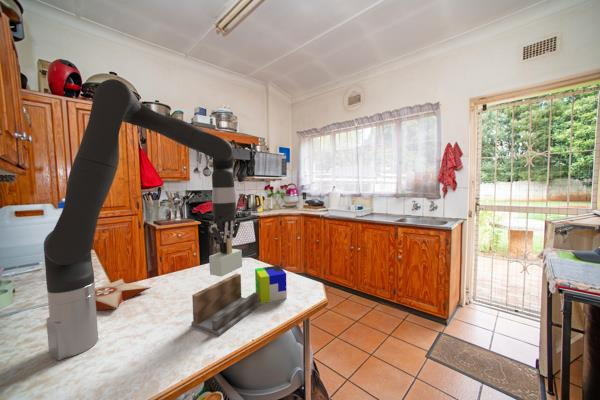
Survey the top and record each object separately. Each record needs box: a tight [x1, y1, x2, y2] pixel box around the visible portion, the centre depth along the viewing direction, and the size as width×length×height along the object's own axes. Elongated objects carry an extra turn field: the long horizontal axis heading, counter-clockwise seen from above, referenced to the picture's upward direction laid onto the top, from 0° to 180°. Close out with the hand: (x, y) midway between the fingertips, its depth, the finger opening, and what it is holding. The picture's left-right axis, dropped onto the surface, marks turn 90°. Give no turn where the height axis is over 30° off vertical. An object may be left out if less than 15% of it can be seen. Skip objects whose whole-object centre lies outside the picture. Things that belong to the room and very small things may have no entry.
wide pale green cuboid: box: [208, 238, 243, 278], centre depth 81 cm, size 10×5×11 cm, turn 154°
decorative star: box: [95, 278, 152, 311], centre depth 92 cm, size 28×4×30 cm
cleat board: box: [191, 273, 262, 337], centre depth 81 cm, size 20×12×10 cm, turn 153°
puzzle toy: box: [254, 264, 288, 304], centre depth 95 cm, size 10×10×10 cm
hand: (226, 252), depth 81 cm, fingers closed on wide pale green cuboid, 1 cm apart
